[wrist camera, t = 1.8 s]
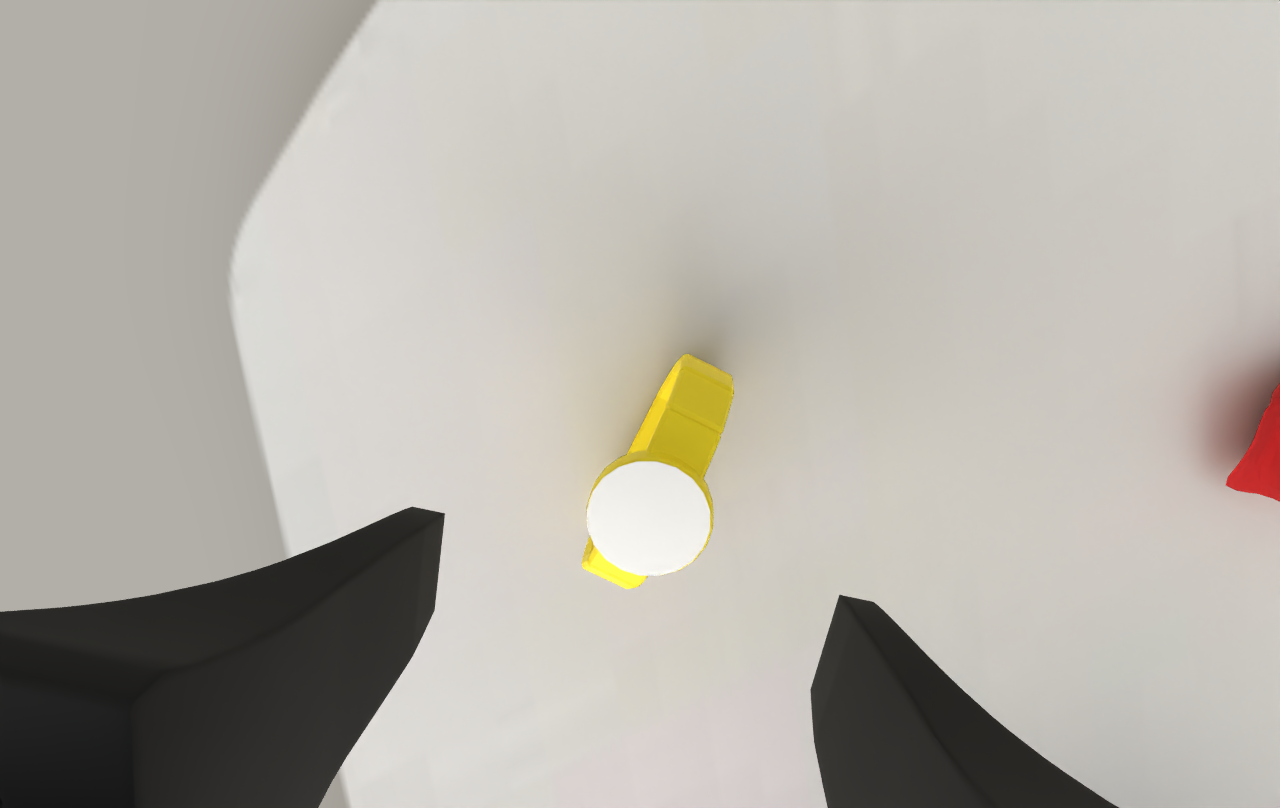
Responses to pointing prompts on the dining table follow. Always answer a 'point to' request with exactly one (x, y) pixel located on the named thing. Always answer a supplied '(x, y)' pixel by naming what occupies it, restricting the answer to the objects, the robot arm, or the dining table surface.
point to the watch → (661, 481)
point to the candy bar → (1262, 456)
